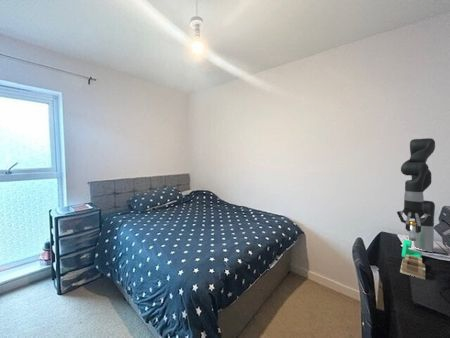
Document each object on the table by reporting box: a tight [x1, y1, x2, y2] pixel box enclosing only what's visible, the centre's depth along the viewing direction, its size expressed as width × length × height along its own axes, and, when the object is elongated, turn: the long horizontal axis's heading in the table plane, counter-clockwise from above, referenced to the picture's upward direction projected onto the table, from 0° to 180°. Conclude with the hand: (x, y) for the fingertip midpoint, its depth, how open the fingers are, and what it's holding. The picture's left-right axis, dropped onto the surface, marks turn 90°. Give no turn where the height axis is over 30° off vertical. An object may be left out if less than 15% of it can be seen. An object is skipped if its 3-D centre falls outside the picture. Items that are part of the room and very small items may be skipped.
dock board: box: [399, 255, 426, 280], centre depth 111 cm, size 18×10×5 cm, turn 135°
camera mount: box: [401, 239, 423, 258], centre depth 125 cm, size 12×8×10 cm, turn 130°
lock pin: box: [408, 220, 418, 242], centre depth 108 cm, size 3×3×10 cm
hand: (412, 231), depth 108 cm, fingers closed on lock pin, 3 cm apart
